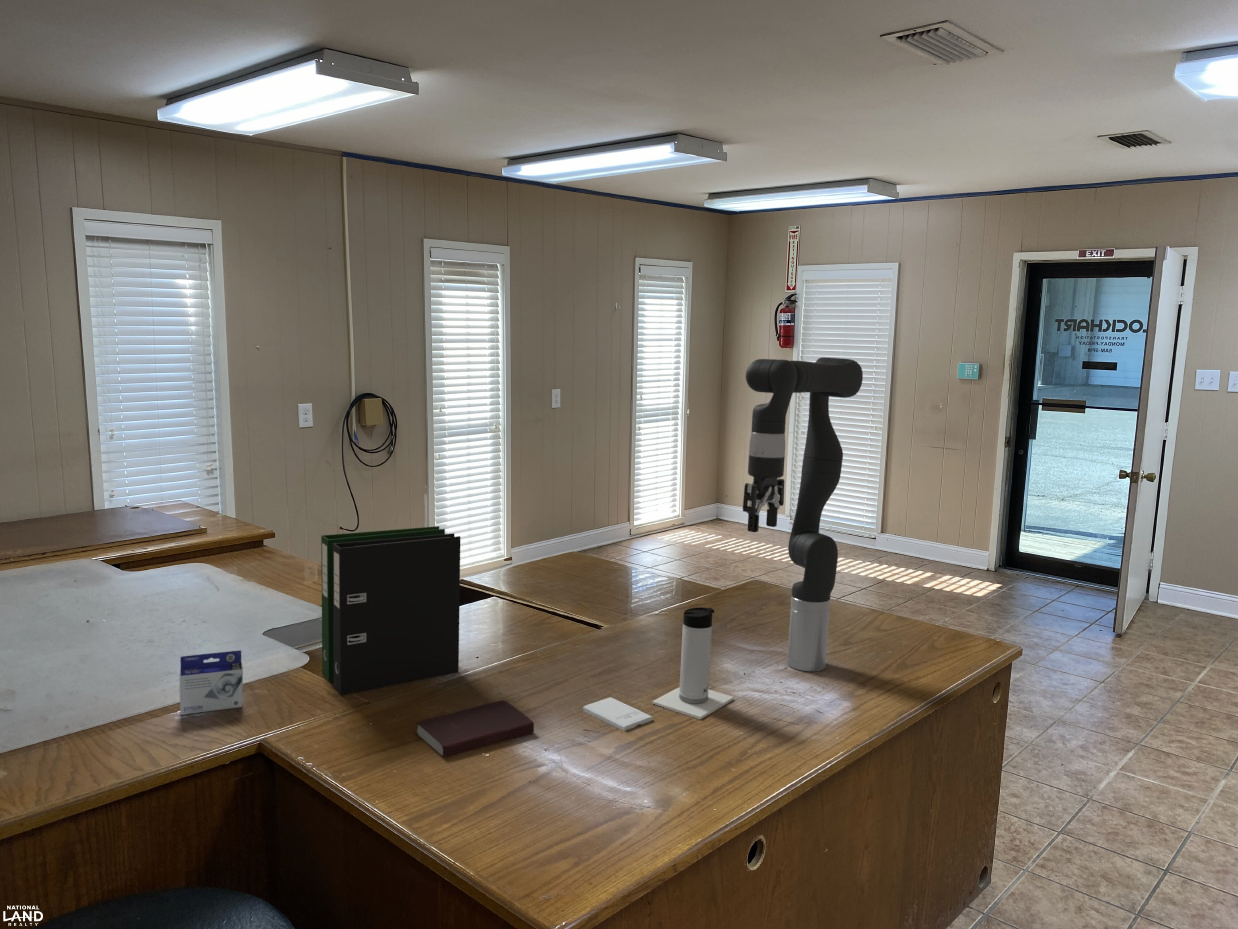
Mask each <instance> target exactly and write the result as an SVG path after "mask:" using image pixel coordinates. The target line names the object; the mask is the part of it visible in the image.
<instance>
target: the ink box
mask: <svg viewBox="0 0 1238 929" xmlns="http://www.w3.org/2000/svg"><path fill="white" fill-rule="evenodd" d="M179 659H180V662H179V663H180V670H179V707H180V708H179V709H180V716H184V715H192V714H198V713H204V712H205V713H206V712H212V711H219V710H220V711H221V710H227V709H228V710H229V709H237V708H242V707H243V687H244V686H243V684H244V682H243V680H244V679H243V677H244V673H243V672H244V669H243V668H244V665H243V662H242V650H240V649H239V650H231V651H220V652H211V653H202V654H192V655H183V656H180V658H179ZM210 659H213V660H216V661H209V662H204V661H207V660H210Z"/></svg>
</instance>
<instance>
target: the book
mask: <svg viewBox="0 0 1238 929" xmlns="http://www.w3.org/2000/svg"><path fill="white" fill-rule="evenodd" d="M534 723H535V722H534V721H533V720H532V719H531V718H529V717H528V716H527V715H526V714H525V713H523V712H522V711H521V710H519V709H518V708H517V707H515V706H514V705H513V704H511V703H510V702H508V701H506V700H505V699H504V700H503V699H501V700H498V701H493V702H488V703H485V704H480V705H478V706H474V707H469V708H465V709H462V710H458V711H454V712H451V713H446V714H444V715H443V714H442V715H438V716H434V717H431V718H430V717H429V718H426V719H422V720H418V721H416V723H415V724H416V725H417V731H416V732H415V735H417V736H419V737H420V738H421V739H422V740H424V741H425V742H426V743H427V744H428V745H429V746H431V748H432V749H434V750H435V751H436V752H437V753H439V754H440V755H441V757H442V758H449V757H452V756H455V755H459V754H463V753H466V752H469V751H474V750H476V749H480V748H485V747H488V746H492V745H496V744H500V743H502V742H506V741H511V740H514V739H518V738H521V737H526V736H529V735H533V734H534V730H535V724H534Z"/></svg>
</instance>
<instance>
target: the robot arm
mask: <svg viewBox="0 0 1238 929" xmlns="http://www.w3.org/2000/svg"><path fill="white" fill-rule="evenodd" d="M863 373H864V372H863V369H862V366H861V365H860V363H858V362H857V361H855V360H853V359H851V358H839V357H827V356H826V357H824V356H823V357H820V358H818V359H817V360H815V362H813V361H805V360H788V359H776V358H775V359H772V358H758V359H755V360H753V361H752V362H751V363H750V364H749V365H748V367H747V368H746V371H745V381H746V384H747V385H748V387H749V388H750V389H751V390H752V391H754V392H757V393H764V394H765V393H767V394H772V396H771V399H770V400H769V401H768V402H767V403H766V402H765V403H761V404H760V403H759V404H757V405H755V406H754V407H753V410H752V412H751V413H752V414H751V415H752V416H751V431H750V432H751V433H750V437H749V438H750V439H749V448H748V465H747V474H748V475H749V476H751V477H752V478H753V479H752V480H753V481H752V483H747V482H746V483H745V484H744V487H743V488H744V489H743V501H742V512H745V513H746V514H748V516H747V517H748V518H747V532H750V533H758V531H759V529H760V528H759V527H760V525H759V524H760V513H761V510H762V508H763V507H765V506H766V508H767V509H766V521H765V522H766V526H767V527H771V528H776V527H777V525H778V510H780V508H781V506H782V507H783V506H784V501H785V500H784V499H785V479H784V478H783V477H784V473H785V460H786V459H785V458H786V456H785V455H786V421H787V420H786V418H787V413H788V410H789V408H790V407H789V406H790V403H791V400H792V397H793V395H794V393H796V394H798V393H799V394H801V393H804V394H805V393H809V399H808V400H809V401H808V402H809V405H808V421H807V422H808V423H807V430H806V439H805V445H804V450H803V451H804V452H803V457H802V464H801V473H800V475H801V477H800V483H799V490H798V496H797V504H796V509H795V515H794V519H793V522H792V527H791V532H790V534H789V540H788V546H787V548H788V549H787V550H788V556H789V559H790V561H791V562H792V563H794V565H796V566H799V567H801V568H804V573H803V577H802V578H803V579H802V581H800V580H799V581H796V582H794V583H793V584H792V587H791V596H790V597H791V598H790V613H789V631H788V645H787V661H786V663H787V665H788V666H789V667H790V668H793V669H795V670H799V671H804V672H820V671H823V670H824V669H826V662H827V650H828V649H827V648H828V639H829V638H828V636H829V635H828V634H829V622H830V621H829V620H830V607H831V593H832V591H833V589H834V588H835V584H836V576H837V568H838V561H839V558H838V557H839V550H838V545H837V542H836V540H834V539H833V538H832V537H830V536H829V535H827V534H823V533H820V524H821V517H822V514H823V510H824V508H825V505H826V504H827V502H828V501H829V500H830V498H831V496H832V495H833V494H834V492H835V490H836V489H837V487H838V485H839V482H840V479H841V474H842V466H843V460H844V458H843V457H844V453H843V448H842V447H843V446H842V444H841V442H840V440H839V438H838V436H837V433H836V431H835V429H834V427H833V424H832V421H831V417H830V410H829V409H830V406H829V405H830V404H829V403H830V397H833V398H842V399H843V398H844V399H845V398H847V399H848V398H851V397H854V396H856V395H857V394H858V393H859V391H860V389H862V388H861V387H862V384H863V381H864V380H863V379H864V378H863V377H864V376H863V375H864V374H863Z"/></svg>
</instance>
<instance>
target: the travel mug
mask: <svg viewBox="0 0 1238 929" xmlns="http://www.w3.org/2000/svg"><path fill="white" fill-rule="evenodd" d="M713 614H715V609H714V608H712V607H702V606H701V607H691V608H688V609H685V610H684V611H683V620H682V621H683V622H682V633H681V634H682V638H681V652H680V653H681V654H680V671H679V673H680V676H679V677H680V678H679V687H680V691H679V698H680V699H681V700H682V701H684V702H686V703H690V704H701V703H704V702H706V701H707V700H708V690H710V688H709V687H710V672H711V671H710V668H711V654H712V650H711V649H712V632H713Z"/></svg>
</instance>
